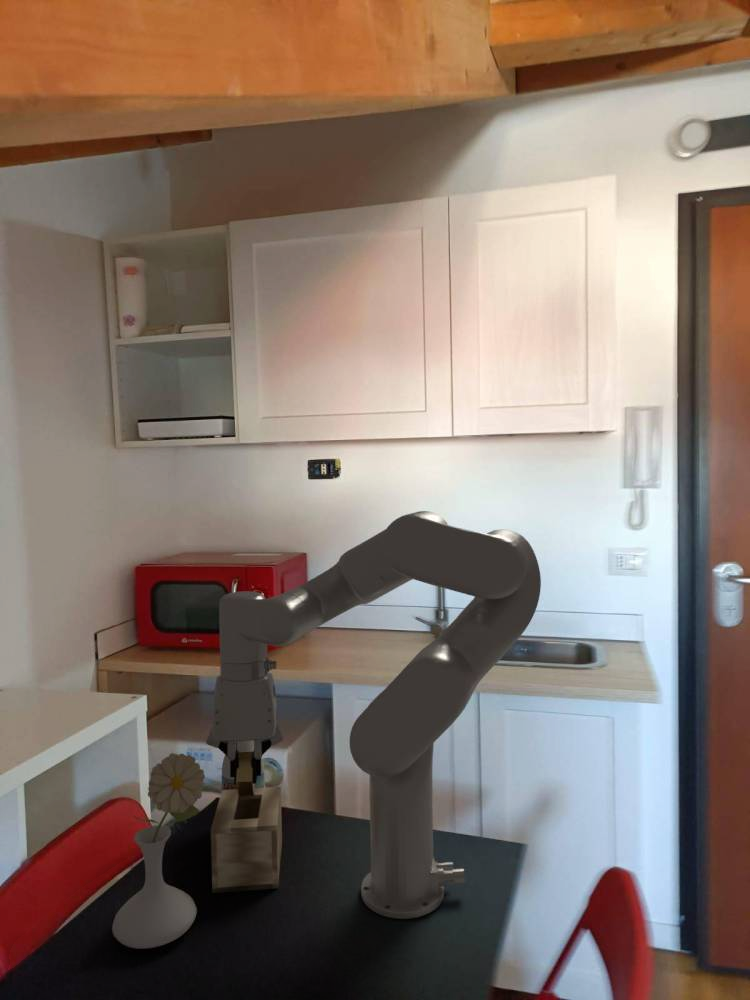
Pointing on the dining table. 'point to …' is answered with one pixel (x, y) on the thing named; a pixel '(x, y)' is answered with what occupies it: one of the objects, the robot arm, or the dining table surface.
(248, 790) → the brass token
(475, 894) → the dining table surface
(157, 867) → the flower in vase
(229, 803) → the box
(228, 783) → the milk bottle
